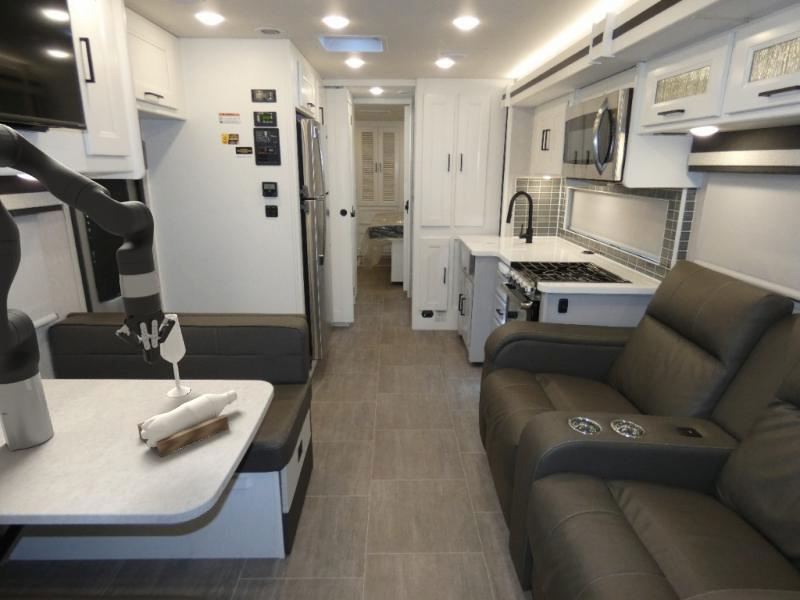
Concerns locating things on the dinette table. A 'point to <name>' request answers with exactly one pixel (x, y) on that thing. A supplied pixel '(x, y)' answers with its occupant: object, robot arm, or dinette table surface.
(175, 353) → the champagne flute
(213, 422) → the walnut cradle
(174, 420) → the water bottle
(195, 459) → the dinette table surface
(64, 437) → the dinette table surface
